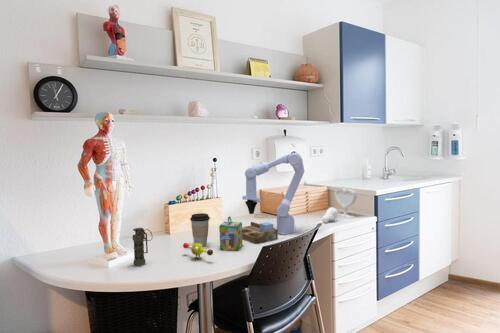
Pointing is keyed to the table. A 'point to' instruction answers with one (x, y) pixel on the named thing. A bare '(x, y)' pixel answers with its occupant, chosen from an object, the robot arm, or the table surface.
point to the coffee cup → (200, 228)
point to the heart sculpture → (345, 199)
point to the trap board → (258, 234)
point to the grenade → (139, 246)
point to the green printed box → (230, 235)
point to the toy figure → (197, 249)
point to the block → (266, 227)
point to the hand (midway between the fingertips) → (251, 213)
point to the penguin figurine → (330, 215)
